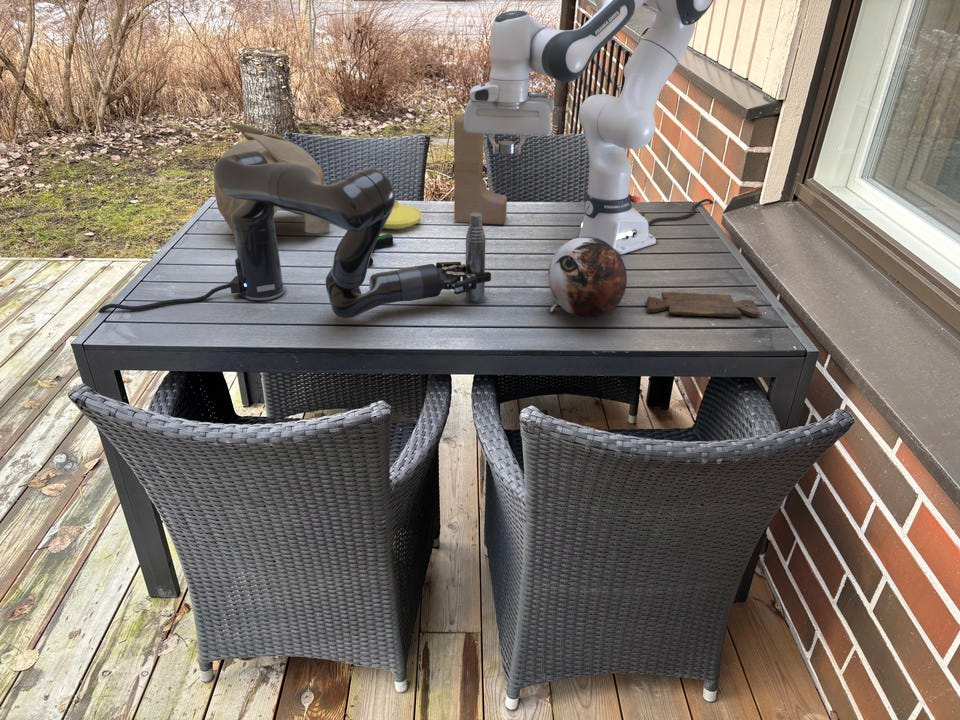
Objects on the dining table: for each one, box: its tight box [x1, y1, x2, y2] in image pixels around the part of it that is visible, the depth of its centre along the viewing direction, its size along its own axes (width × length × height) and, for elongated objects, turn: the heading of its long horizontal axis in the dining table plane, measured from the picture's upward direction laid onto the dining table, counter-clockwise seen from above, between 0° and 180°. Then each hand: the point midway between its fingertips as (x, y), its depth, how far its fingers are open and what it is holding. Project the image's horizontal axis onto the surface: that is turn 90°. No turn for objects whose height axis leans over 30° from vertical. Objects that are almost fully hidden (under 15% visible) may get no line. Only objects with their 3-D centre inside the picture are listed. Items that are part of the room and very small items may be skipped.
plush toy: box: [547, 236, 628, 319], centre depth 161 cm, size 22×18×20 cm
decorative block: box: [453, 113, 508, 226], centre depth 209 cm, size 8×15×30 cm, turn 82°
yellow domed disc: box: [383, 199, 423, 230], centre depth 210 cm, size 16×16×7 cm
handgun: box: [368, 233, 394, 267], centre depth 191 cm, size 16×3×15 cm
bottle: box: [465, 212, 487, 305], centre depth 164 cm, size 4×4×21 cm
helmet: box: [213, 123, 331, 235], centre depth 198 cm, size 27×30×30 cm
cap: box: [498, 140, 516, 155], centre depth 167 cm, size 4×4×2 cm
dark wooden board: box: [646, 291, 762, 318], centre depth 167 cm, size 26×2×10 cm
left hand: (485, 272), depth 167 cm, fingers closed on bottle, 4 cm apart
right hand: (506, 153), depth 168 cm, fingers closed on cap, 4 cm apart
